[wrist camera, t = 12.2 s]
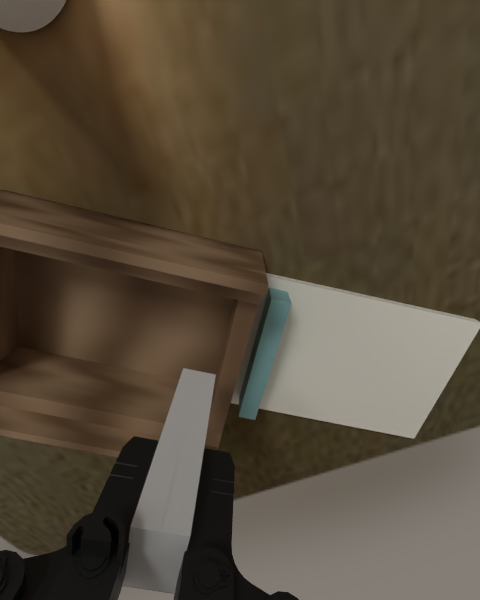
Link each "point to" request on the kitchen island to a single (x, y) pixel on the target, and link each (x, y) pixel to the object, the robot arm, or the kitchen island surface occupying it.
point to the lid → (348, 357)
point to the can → (28, 14)
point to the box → (114, 323)
